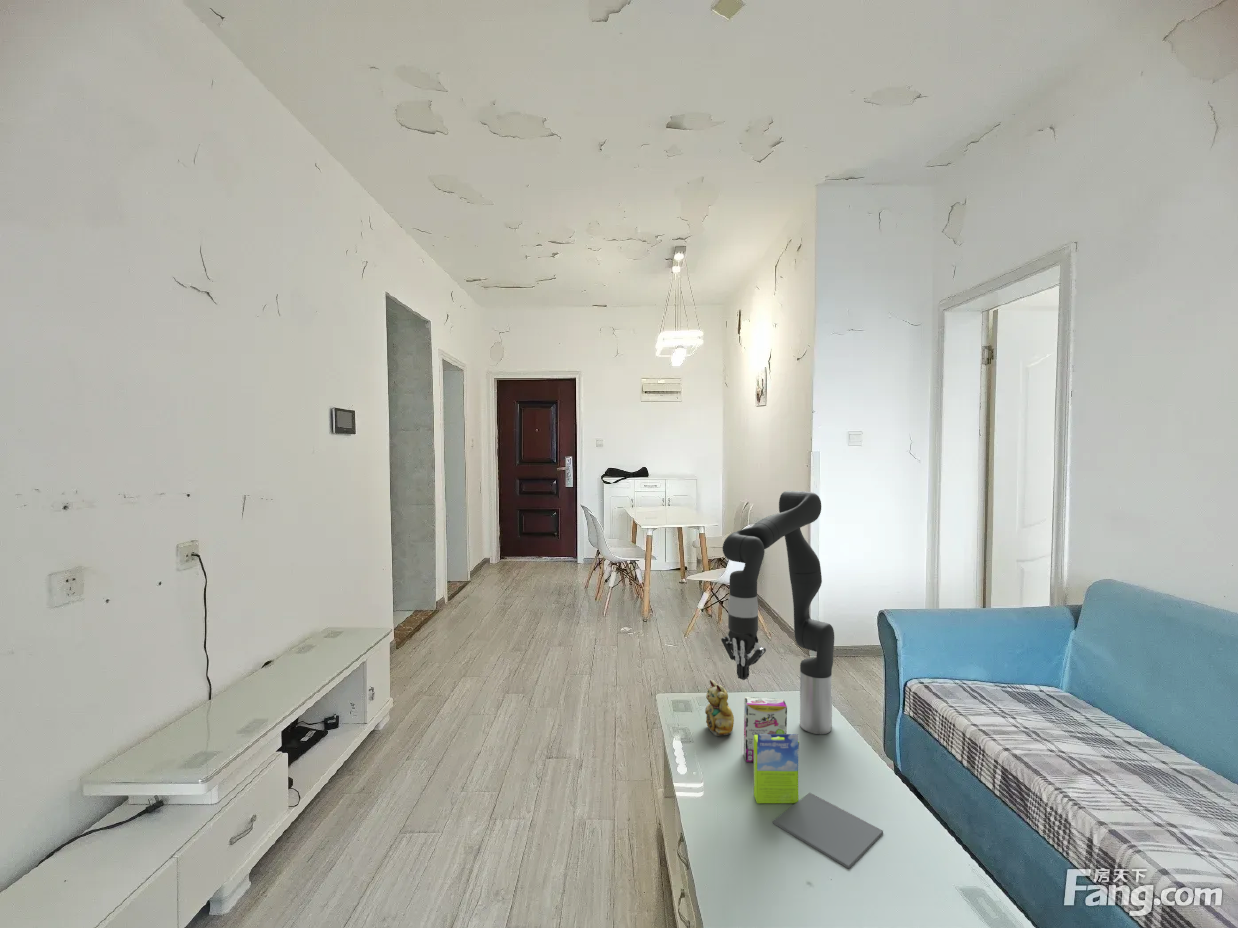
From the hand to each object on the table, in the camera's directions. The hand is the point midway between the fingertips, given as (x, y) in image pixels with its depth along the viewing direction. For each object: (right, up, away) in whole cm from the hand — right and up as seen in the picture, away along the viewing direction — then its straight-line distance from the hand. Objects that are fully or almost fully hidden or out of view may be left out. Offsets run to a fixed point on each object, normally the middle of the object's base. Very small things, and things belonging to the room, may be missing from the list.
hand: (742, 678), depth 140 cm
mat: (+15, -27, -17) cm, 36 cm away
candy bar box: (+9, -27, +11) cm, 30 cm away
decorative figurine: (-1, -27, +26) cm, 37 cm away
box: (+7, -27, -7) cm, 29 cm away
